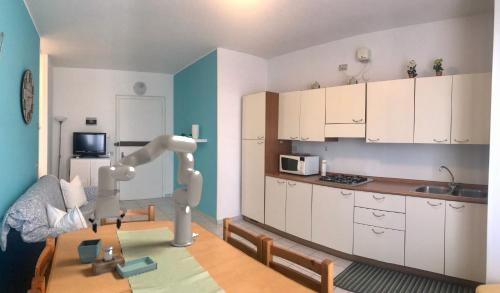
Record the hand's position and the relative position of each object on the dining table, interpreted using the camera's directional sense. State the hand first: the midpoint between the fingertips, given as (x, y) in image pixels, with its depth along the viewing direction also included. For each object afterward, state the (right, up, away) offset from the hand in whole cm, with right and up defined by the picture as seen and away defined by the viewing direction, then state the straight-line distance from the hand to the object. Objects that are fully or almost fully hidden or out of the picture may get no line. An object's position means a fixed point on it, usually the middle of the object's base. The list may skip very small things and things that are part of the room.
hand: (106, 230), depth 132 cm
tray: (+14, -18, 0) cm, 23 cm away
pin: (0, -18, +1) cm, 18 cm away
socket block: (0, -18, +1) cm, 18 cm away
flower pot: (-13, -18, +9) cm, 23 cm away
